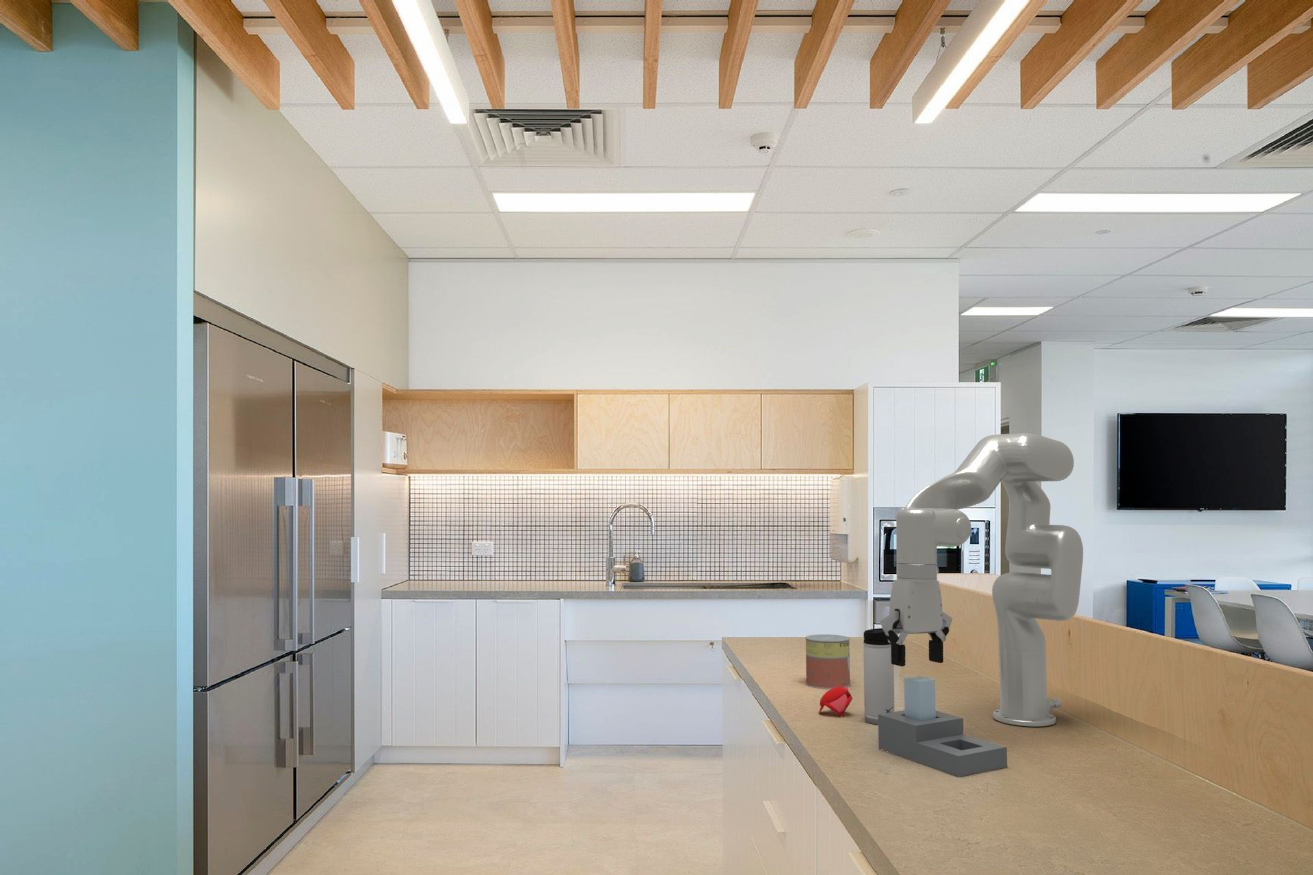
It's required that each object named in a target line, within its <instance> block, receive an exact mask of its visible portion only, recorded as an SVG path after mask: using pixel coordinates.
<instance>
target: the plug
mask: <svg viewBox="0 0 1313 875" xmlns="http://www.w3.org/2000/svg"><path fill="white" fill-rule="evenodd" d="M903 682H904V683H903V686H904V687H903V689H904V690H903V692H904V696H903V697H904V710H905V717H909V718H912V719H915V720H919V721H922V720H929V719H935V718H936V711H937V710H936V709H937V708H936V680H935V679H934V678H929V677H926V676H920V675H917V676H910V677H904V678H903Z"/></svg>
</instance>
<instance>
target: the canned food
mask: <svg viewBox="0 0 1313 875" xmlns="http://www.w3.org/2000/svg"><path fill="white" fill-rule="evenodd" d="M850 640H851V638H850V637H848V636H846V635H845V636H844V635H839V634H838V635H837V634H811V635H806V636H805V665H806V666H805V670H806V671H805V672H806V674H805V675H806V680H805V681H806V682H805V685H806V686H807V687H810V688H814V689H818V690H819V689H820V690H830V689H832V688H835V687H845V688H847V689H848V688H850V687H851V664H850V662H851V659H850V658H851V656H850V655H851V654H850V653H851V652H850V651H851V650H850Z"/></svg>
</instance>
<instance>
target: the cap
mask: <svg viewBox="0 0 1313 875" xmlns="http://www.w3.org/2000/svg"><path fill="white" fill-rule="evenodd" d="M852 700H853V696H852V694H851V693H850V690H849V689H848V688H845V687H835V688H832V689H828V690H827V691H826V692H824V693H823V695H822V696H821V697H820V700H819V706H820V708H819V711H818V714H821V712H822V711H823V710H824V707H827V708H829V710H830V711H832V712H833V713H836V714H837V716H838V717H841V716H842V717H844V716H845V715H844V714H845V712H846V710H847V709H848V707H849V706H850V704H851V703H852Z"/></svg>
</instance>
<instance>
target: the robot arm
mask: <svg viewBox="0 0 1313 875" xmlns="http://www.w3.org/2000/svg"><path fill="white" fill-rule="evenodd" d="M1074 459H1075V458H1074V456H1073V452H1072V450H1071V449H1070V448H1069V446H1068V445H1067V444H1065V443H1064V442H1062V441H1060V440H1057V439H1053V438H1049V437H1046V436H1045V435H1044V436H1043V435H1039V434H1035V433H1030V432H1019V433H1018V432H1017V433H1001V434H1000V433H999V434H990V435H987V436H985V437H983V438H982V439H980V440H979V441H978V442H977V443H976V444H975V446H974V447H973V449H972V450H970V452H969V454H968V455H967V456H966V457H965V459H964V460H963V461H962V462H961V464H960V465H959V466H958V468H957V469H956V470H954V472H952V473H951V474H948V475H946V476H943V477H942V478H941V479H939V480H937V481H935V482H933V483H932V484H930V485H927V486H926V487H924V488H922V489H921V490H919V491H918V492H917V493H916V494H915V495H914V496H913V497H912V498H911V499H910V501H909V502H908V503H907V504H906V505H905V507H903V509H900V510H899V511H898V512H897V514H896V518H895V519H896V520H895V521H896V524H895V526H896V527H895V529H896V532H895V534H896V537H895V538H896V539H895V540H896V546H895V547H896V579H893V582H892V586H891V591H890V596H889V608H888V609H889V611H888V615H887V616H885V617H884V618H882V619H881V620H880V625H881V628H883V631H884V635H885V636H886V637H887V639H888V642H889V643H891V664H893V665H894V666H897V667H905V666H906V644H904V642H905V640H906V638H907V637H908V635H919V634H928V635H929V637H930V638H931V639H929V640H928V660H929V661H930V662H934V663H938V664H943V663H944V643H945V642H946V640H947V635H948V634H949V632H950V627H951V625H952V621H953V618H952V617H951V616H950V615H948V614H946V613H945V612H944V611H943V601H942V600H943V599H942V593H941V587H940V581H939V580H938V573H939V572H940V569H939V567H938V547H943V548H944V547H947V548H948V547H949V548H953V547H959V546H961V545H963V544H964V543H966V542H967V541H968V540H969V538H970V536H971V533H972V524H971V521H970V518H969V517H968V515H966V513H964V512H963V511H961V510H962V509H966V508H969V507H973V506H976V505H979V504H981V503H984V502H985V501H987V500H988V499H989V498H990V497H991V495H993V492H994V491H995V490H996V489H997V488H998V486H999V485H1000V483H1001V484H1002V486H1003V487H1004V489H1005V492H1006V494H1007V497H1008V503H1009V506H1008V508H1009V509H1008V520H1007V527H1006V528H1007V529H1006V536H1005V537H1006V538H1005V549H1004V550H1005V558H1006V559H1007V561H1008V562H1009V563H1010V564H1011V565H1013V566H1015V567H1016V566H1017V567H1021V568H1022V567H1023V568H1028V569H1029V568H1031V569H1033V568H1034V569H1045V570H1046V569H1047V570H1048V569H1049V570H1050V571H1051V572H1050V574H1043V573H1042V574H1041V573H1036V572H1035V573H1034V572H1019V571H1017V572H1016V571H1015V572H1014V571H1013V572H1005V573H1003V574H1001V575H999V576H998V577H996V579H995V580H994V581H993V584H992V591H991V592H992V593H991V595H992V596H991V597H992V600H993V605H994V610H995V614H996V621H997V632H998V633H997V634H998V671H999V672H998V677H999V708H998V709H996V710H993V712H992V718H993V719H994V720H996V721H998V722H1000V723H1004V724H1008V725H1013V726H1021V727H1022V726H1023V727H1048V726H1052V725H1055V723H1056V722H1057V720H1056V719H1057V718H1056V716H1055V715H1054V714H1053V713H1051V710H1053V709H1058V708H1060V707H1061V704H1062V702H1061V700H1060V699H1059V698H1052V699H1050V698H1049V697H1048V680H1047V679H1048V678H1047V677H1048V676H1047V646H1046V637H1045V634H1044V632H1043V629H1042V627H1041V626H1040V625H1039V623H1038V621H1037V619H1039V620H1048V621H1056V622H1058V621H1059V622H1060V621H1061V622H1063V621H1064V622H1065V621H1068V620H1071V619H1073V617H1074V616H1075V615H1076V613H1077V611H1078V607H1079V602H1080V593H1081V582H1082V575H1083V574H1082V572H1083V565H1084V564H1083V562H1084V545H1083V541H1082V538H1081V535H1080V534H1079V532H1078V531H1077V530H1076V529H1074V528H1073V527H1071V526H1069V525H1064V524H1063V525H1062V524H1051V523H1050V521H1051V520H1050V519H1051V518H1050V517H1051V502H1050V500H1049V498H1048V496H1047V494H1046V493H1045V491H1044V490H1043V488H1042V487H1041V486H1040V485H1039V484H1038V482H1060V481H1064V480H1066V479H1067V478H1068V477H1070V475H1072V474H1071V473H1073V471H1074V467H1075V466H1074V464H1075V462H1074V461H1075V460H1074Z"/></svg>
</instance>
